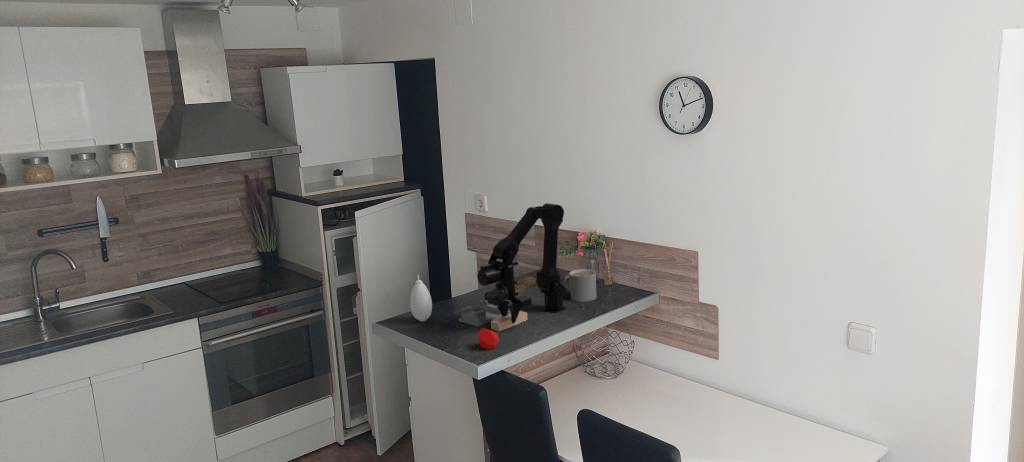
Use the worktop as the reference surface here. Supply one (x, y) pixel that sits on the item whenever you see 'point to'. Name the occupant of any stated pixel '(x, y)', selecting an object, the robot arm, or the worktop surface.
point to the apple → (488, 339)
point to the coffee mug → (582, 285)
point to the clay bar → (508, 321)
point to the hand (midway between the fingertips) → (509, 321)
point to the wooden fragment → (524, 284)
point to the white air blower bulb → (420, 301)
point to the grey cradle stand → (480, 315)
